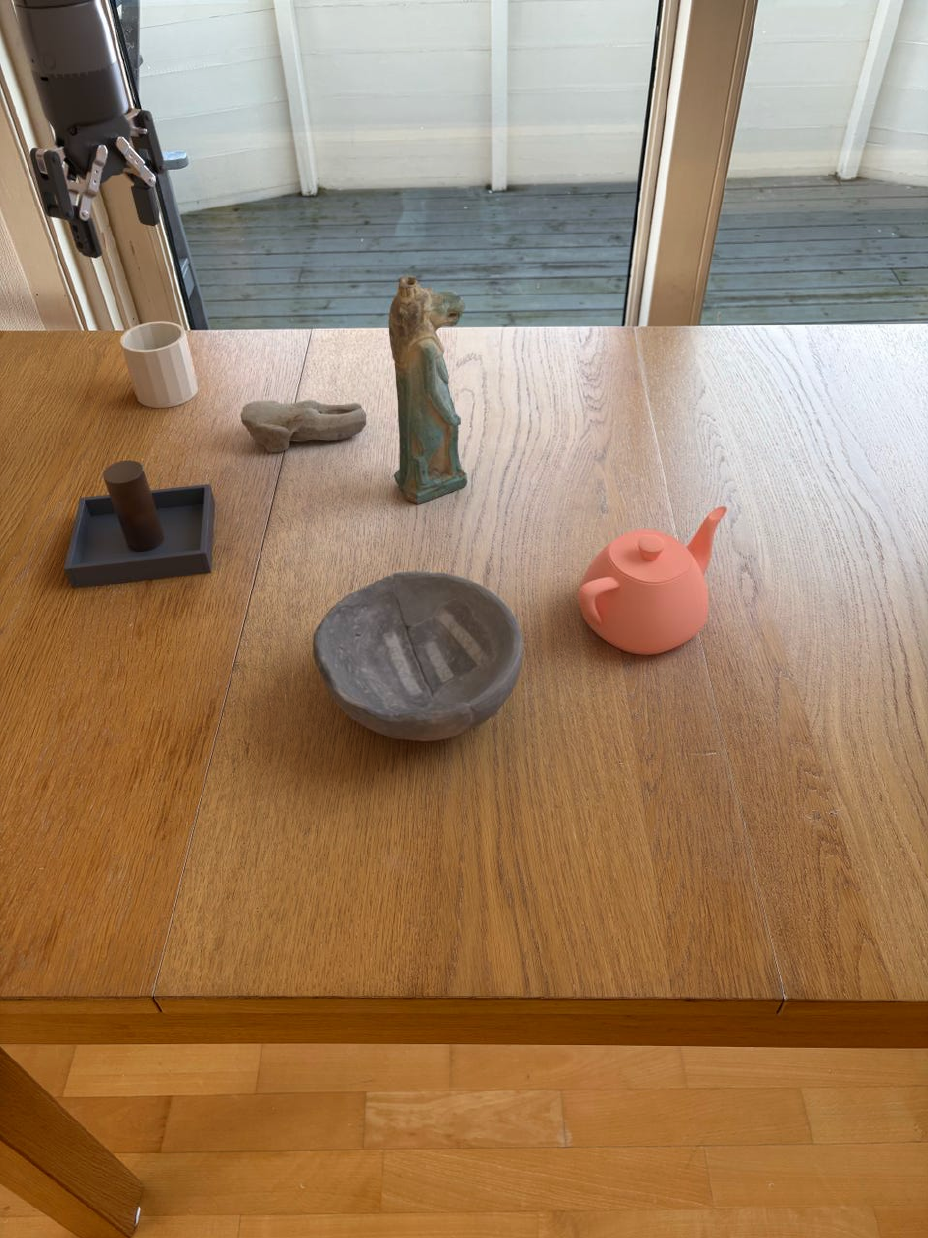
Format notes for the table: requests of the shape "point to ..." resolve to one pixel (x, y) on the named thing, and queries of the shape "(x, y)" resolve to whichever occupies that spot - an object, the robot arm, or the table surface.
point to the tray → (109, 560)
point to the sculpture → (300, 422)
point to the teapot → (649, 588)
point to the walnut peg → (134, 505)
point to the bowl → (419, 655)
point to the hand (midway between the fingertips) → (122, 239)
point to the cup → (159, 364)
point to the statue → (424, 392)
